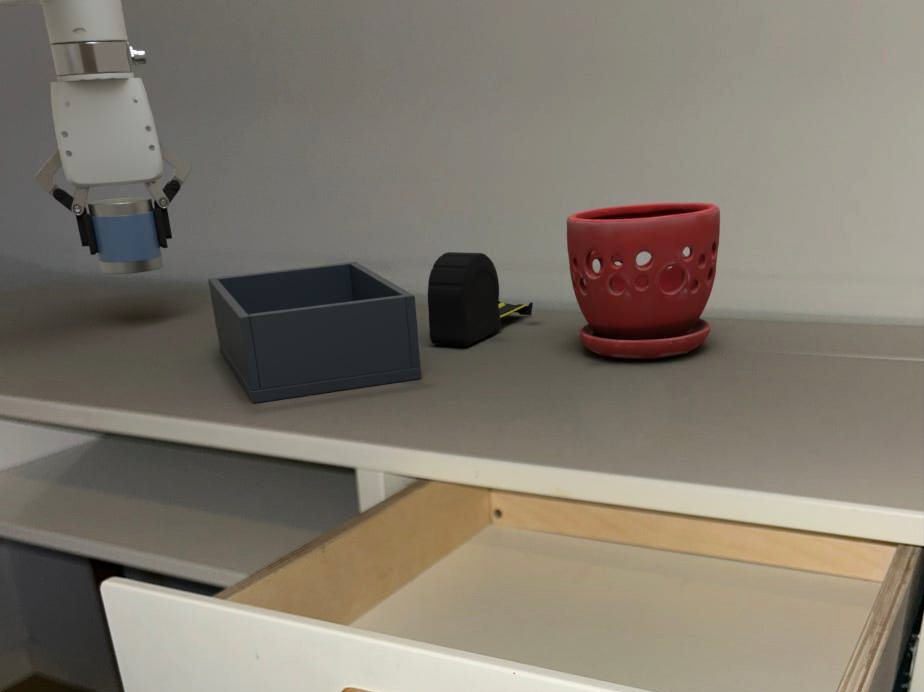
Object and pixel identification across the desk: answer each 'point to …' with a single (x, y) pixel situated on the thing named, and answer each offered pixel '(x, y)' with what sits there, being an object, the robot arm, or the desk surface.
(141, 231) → the can
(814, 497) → the desk surface
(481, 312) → the tape measure
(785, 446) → the desk surface
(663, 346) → the flower pot
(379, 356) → the dark blue open box
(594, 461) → the desk surface
